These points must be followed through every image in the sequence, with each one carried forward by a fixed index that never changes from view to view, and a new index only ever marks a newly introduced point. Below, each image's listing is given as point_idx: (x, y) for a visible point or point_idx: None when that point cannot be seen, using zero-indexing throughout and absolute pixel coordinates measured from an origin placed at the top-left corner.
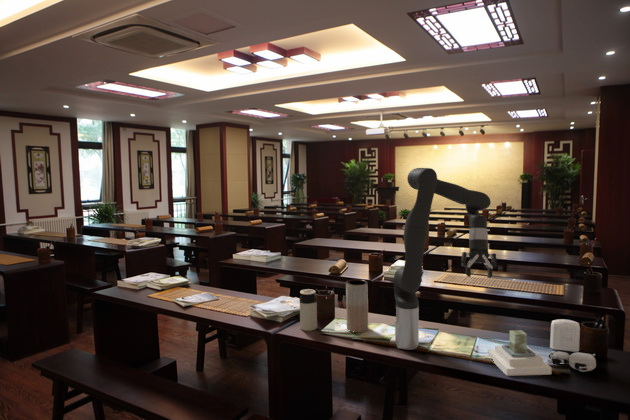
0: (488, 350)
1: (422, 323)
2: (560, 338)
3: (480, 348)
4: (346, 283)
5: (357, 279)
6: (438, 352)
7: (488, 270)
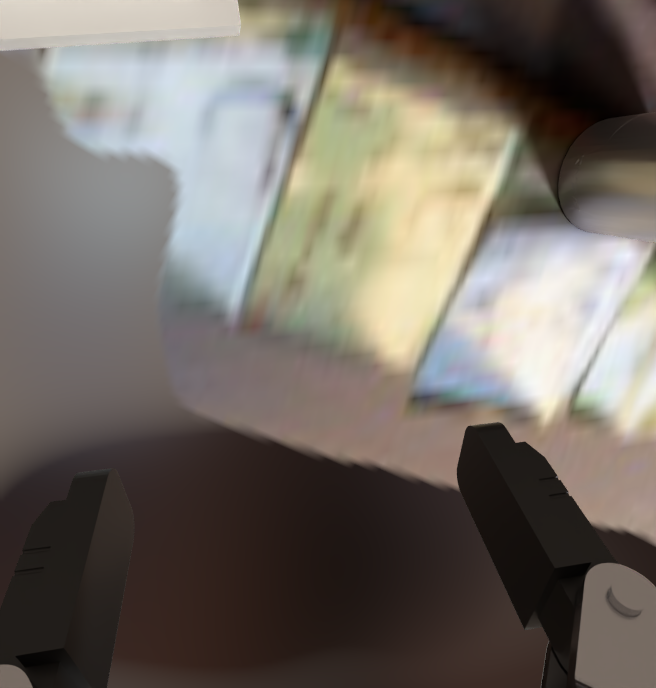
0: (238, 15)
1: None
2: None
3: (254, 152)
4: None
5: None
6: (488, 90)
7: (92, 634)
